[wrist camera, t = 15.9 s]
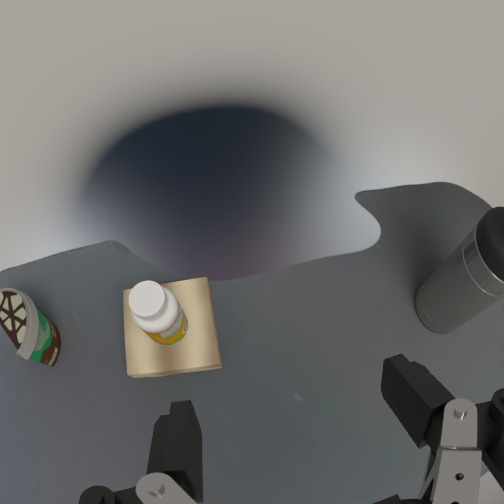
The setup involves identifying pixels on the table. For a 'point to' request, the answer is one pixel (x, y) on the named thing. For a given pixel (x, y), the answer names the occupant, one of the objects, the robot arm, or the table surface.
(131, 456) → the table surface
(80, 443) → the table surface
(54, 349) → the food container
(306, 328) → the table surface
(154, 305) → the supplement bottle
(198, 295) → the base block
